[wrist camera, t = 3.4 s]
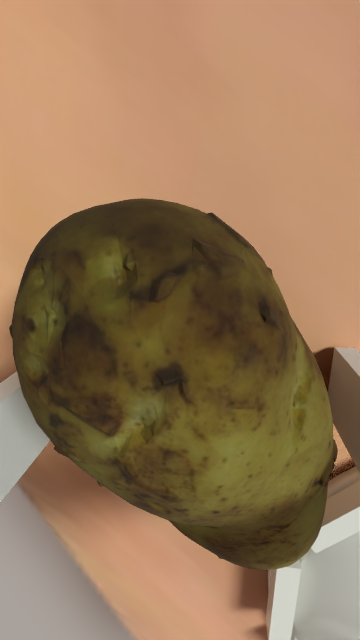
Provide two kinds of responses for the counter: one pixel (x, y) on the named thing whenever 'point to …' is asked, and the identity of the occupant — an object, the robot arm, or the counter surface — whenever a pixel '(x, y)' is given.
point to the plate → (322, 575)
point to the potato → (177, 377)
